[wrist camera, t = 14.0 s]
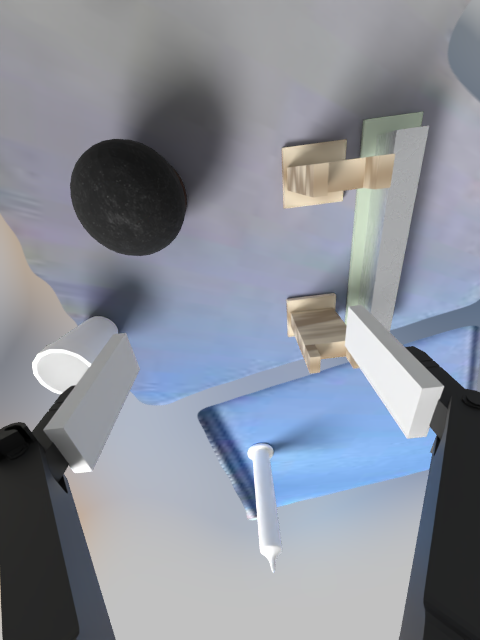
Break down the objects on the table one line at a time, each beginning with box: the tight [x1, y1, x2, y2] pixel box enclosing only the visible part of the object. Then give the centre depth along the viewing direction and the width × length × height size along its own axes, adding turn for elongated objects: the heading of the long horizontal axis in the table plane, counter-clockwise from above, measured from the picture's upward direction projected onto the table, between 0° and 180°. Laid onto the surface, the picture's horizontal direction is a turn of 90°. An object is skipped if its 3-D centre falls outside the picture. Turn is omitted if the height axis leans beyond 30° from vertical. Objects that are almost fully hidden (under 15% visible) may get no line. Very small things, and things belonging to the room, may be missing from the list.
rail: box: [358, 126, 429, 332], centre depth 42 cm, size 32×4×5 cm, turn 7°
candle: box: [248, 443, 282, 573], centre depth 61 cm, size 7×7×25 cm
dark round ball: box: [70, 139, 187, 256], centre depth 34 cm, size 13×13×15 cm
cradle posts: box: [282, 139, 395, 373], centre depth 39 cm, size 32×9×15 cm, turn 7°
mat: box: [345, 112, 423, 326], centre depth 45 cm, size 36×8×1 cm, turn 7°
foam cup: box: [32, 316, 118, 394], centre depth 46 cm, size 10×9×13 cm
